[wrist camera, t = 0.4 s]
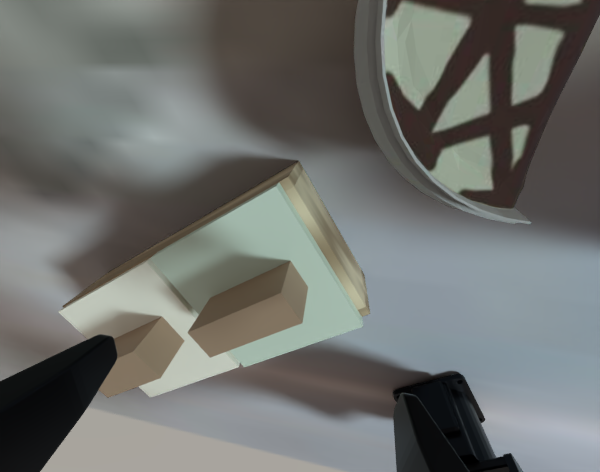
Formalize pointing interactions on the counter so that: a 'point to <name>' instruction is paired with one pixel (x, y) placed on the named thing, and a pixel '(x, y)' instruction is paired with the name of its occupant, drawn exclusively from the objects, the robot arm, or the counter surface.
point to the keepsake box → (310, 213)
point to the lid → (146, 333)
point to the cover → (258, 282)
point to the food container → (466, 90)
